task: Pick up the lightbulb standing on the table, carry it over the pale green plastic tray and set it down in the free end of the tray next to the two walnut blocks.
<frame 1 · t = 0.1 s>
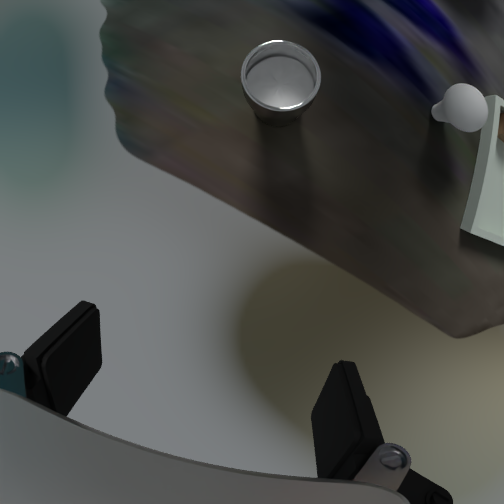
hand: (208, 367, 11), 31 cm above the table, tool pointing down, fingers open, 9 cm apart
lightbulb: (435, 113, 35), on the table
beer glass: (277, 104, 37), on the table
walnut block B: (503, 130, 33), point 1 cm above the table, touching tray
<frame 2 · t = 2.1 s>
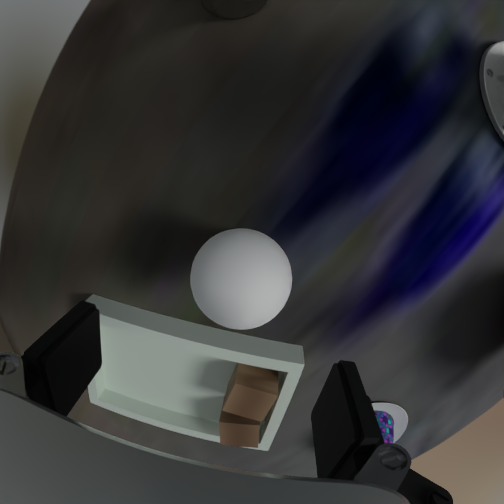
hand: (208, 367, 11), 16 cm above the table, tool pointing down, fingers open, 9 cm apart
pudding: (362, 429, 33), on the table
lightbulb: (251, 242, 27), on the table
walnut block A: (242, 409, 31), point 1 cm above the table, touching tray
tray: (184, 374, 31), on the table
walnut block B: (252, 376, 30), point 1 cm above the table, touching tray
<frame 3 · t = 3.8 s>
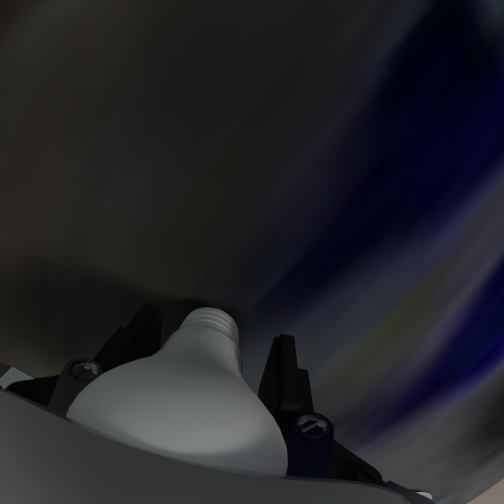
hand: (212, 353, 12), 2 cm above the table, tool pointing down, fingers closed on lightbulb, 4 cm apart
lightbulb: (213, 321, 14), on the table, touching gripper
tray: (142, 471, 19), on the table
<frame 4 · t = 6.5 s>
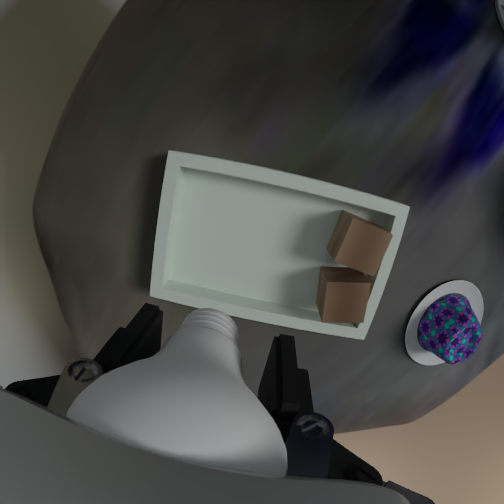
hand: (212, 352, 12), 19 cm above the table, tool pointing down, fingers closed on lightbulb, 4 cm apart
pudding: (443, 322, 32), on the table
lightbulb: (213, 321, 14), point 17 cm above the table, touching gripper
walnut block A: (337, 285, 30), point 1 cm above the table, touching tray
tray: (275, 244, 30), on the table
walnut block B: (352, 236, 29), point 1 cm above the table, touching tray
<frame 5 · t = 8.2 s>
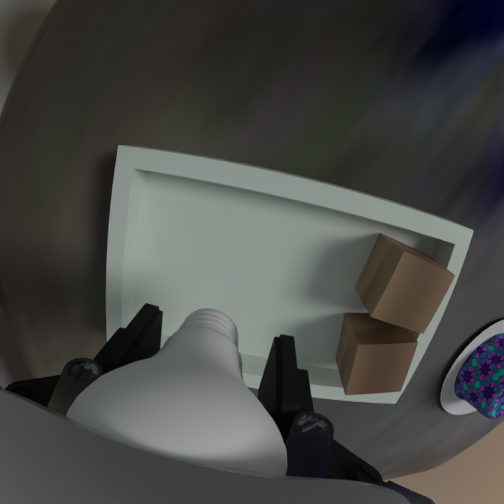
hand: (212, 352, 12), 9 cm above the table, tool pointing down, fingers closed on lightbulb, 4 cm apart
pudding: (485, 365, 23), on the table
lightbulb: (213, 321, 14), point 7 cm above the table, touching gripper
walnut block A: (366, 336, 21), point 1 cm above the table, touching tray
tray: (281, 281, 21), on the table
walnut block B: (391, 270, 19), point 1 cm above the table, touching tray
when the fingers open (5 cm above the table, at t = 9.5 s): lightbulb drops 1 cm, resting on tray.
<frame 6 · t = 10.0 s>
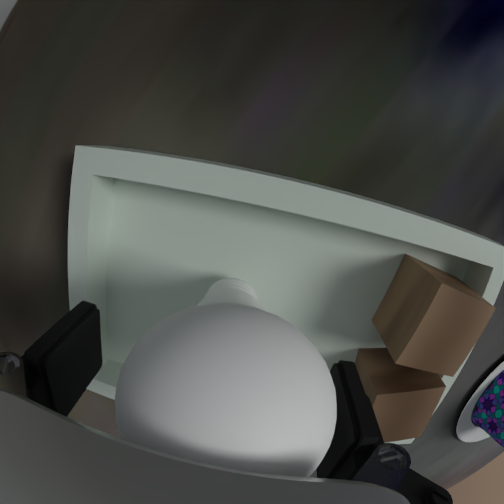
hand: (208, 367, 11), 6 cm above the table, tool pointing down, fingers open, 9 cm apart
lightbulb: (231, 293, 16), point 1 cm above the table, touching tray
walnut block A: (382, 373, 17), point 1 cm above the table, touching tray
tray: (282, 312, 17), on the table
walnut block B: (416, 298, 15), point 1 cm above the table, touching tray
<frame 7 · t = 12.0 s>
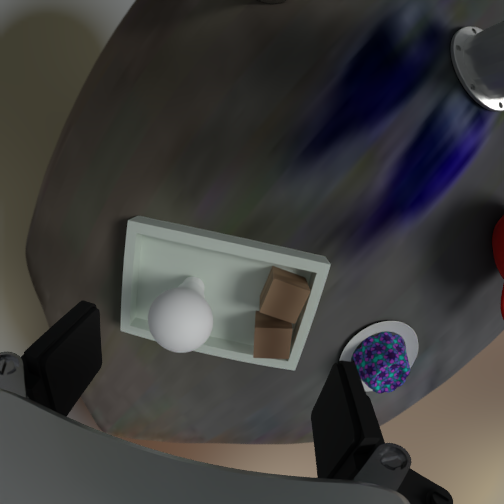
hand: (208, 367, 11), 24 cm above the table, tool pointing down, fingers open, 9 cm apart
pudding: (378, 354, 39), on the table
lightbulb: (195, 282, 36), point 1 cm above the table, touching tray
walnut block A: (271, 326, 37), point 1 cm above the table, touching tray
ceramic cup: (501, 249, 34), on the table
tray: (218, 291, 37), on the table
walnut block B: (282, 287, 35), point 1 cm above the table, touching tray
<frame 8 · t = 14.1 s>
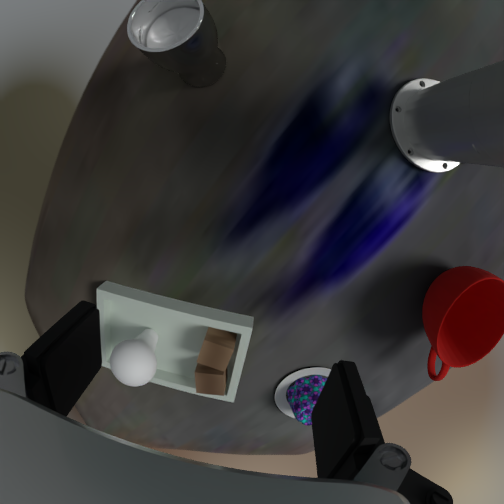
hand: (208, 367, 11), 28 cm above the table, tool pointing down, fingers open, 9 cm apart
pudding: (311, 391, 46), on the table
lightbulb: (152, 333, 43), point 1 cm above the table, touching tray
walnut block A: (213, 367, 44), point 1 cm above the table, touching tray
beer glass: (202, 65, 33), on the table
ceramic cup: (438, 304, 40), on the table
tray: (171, 339, 44), on the table
walnut block B: (219, 340, 42), point 1 cm above the table, touching tray
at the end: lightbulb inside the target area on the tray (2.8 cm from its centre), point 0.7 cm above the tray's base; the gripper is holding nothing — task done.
